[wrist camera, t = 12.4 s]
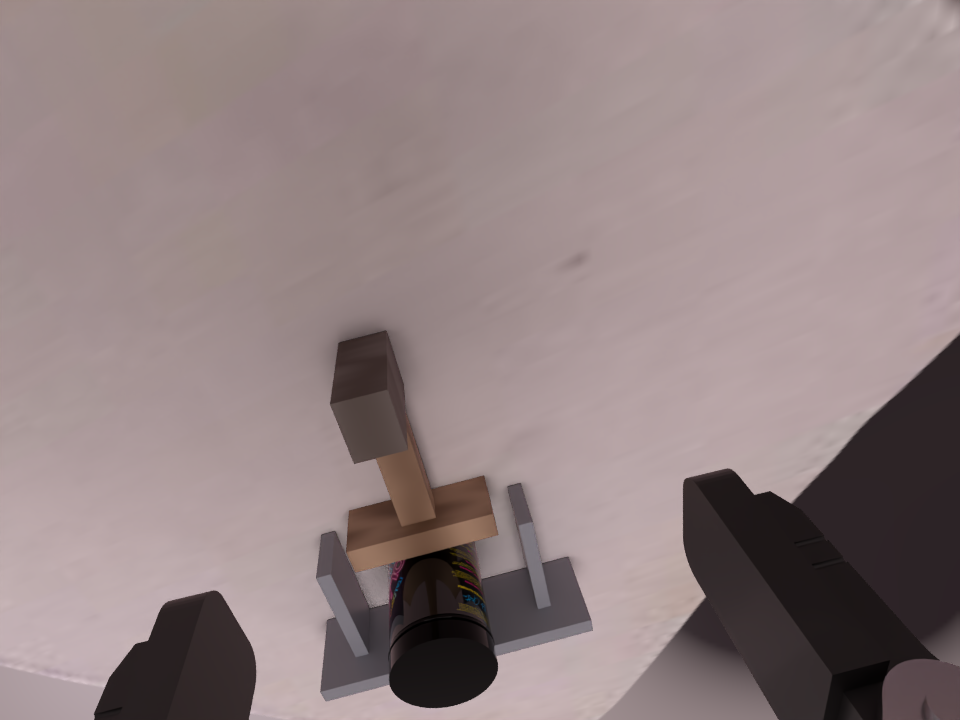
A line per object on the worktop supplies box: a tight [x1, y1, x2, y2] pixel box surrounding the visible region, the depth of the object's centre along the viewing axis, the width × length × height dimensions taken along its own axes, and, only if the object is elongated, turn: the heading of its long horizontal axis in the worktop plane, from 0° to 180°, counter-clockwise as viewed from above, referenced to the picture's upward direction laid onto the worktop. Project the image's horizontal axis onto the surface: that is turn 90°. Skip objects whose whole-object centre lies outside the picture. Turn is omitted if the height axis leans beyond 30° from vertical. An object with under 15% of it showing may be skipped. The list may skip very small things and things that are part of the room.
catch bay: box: [316, 483, 593, 701], centre depth 43 cm, size 20×10×6 cm, turn 102°
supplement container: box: [388, 541, 498, 708], centre depth 41 cm, size 7×7×10 cm
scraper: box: [330, 331, 498, 573], centre depth 37 cm, size 10×15×7 cm, turn 12°
